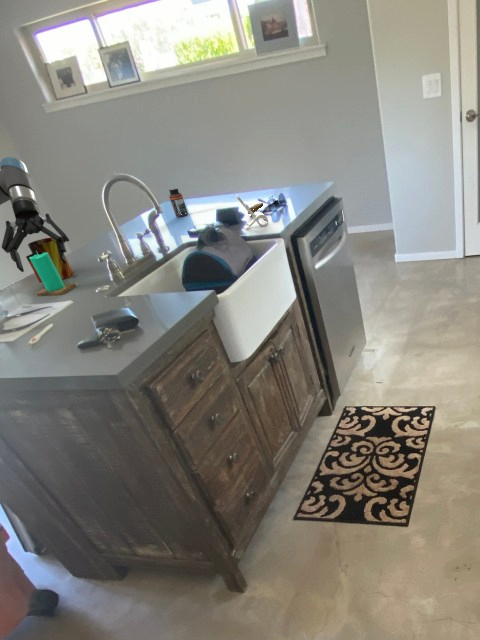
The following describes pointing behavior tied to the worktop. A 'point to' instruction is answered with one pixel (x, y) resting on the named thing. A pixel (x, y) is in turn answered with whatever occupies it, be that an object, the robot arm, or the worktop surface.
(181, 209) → the supplement bottle
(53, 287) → the candle
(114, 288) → the worktop surface
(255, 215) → the plastic part
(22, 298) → the worktop surface
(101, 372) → the worktop surface
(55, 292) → the cork mat
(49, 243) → the mug
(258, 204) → the tap handle
